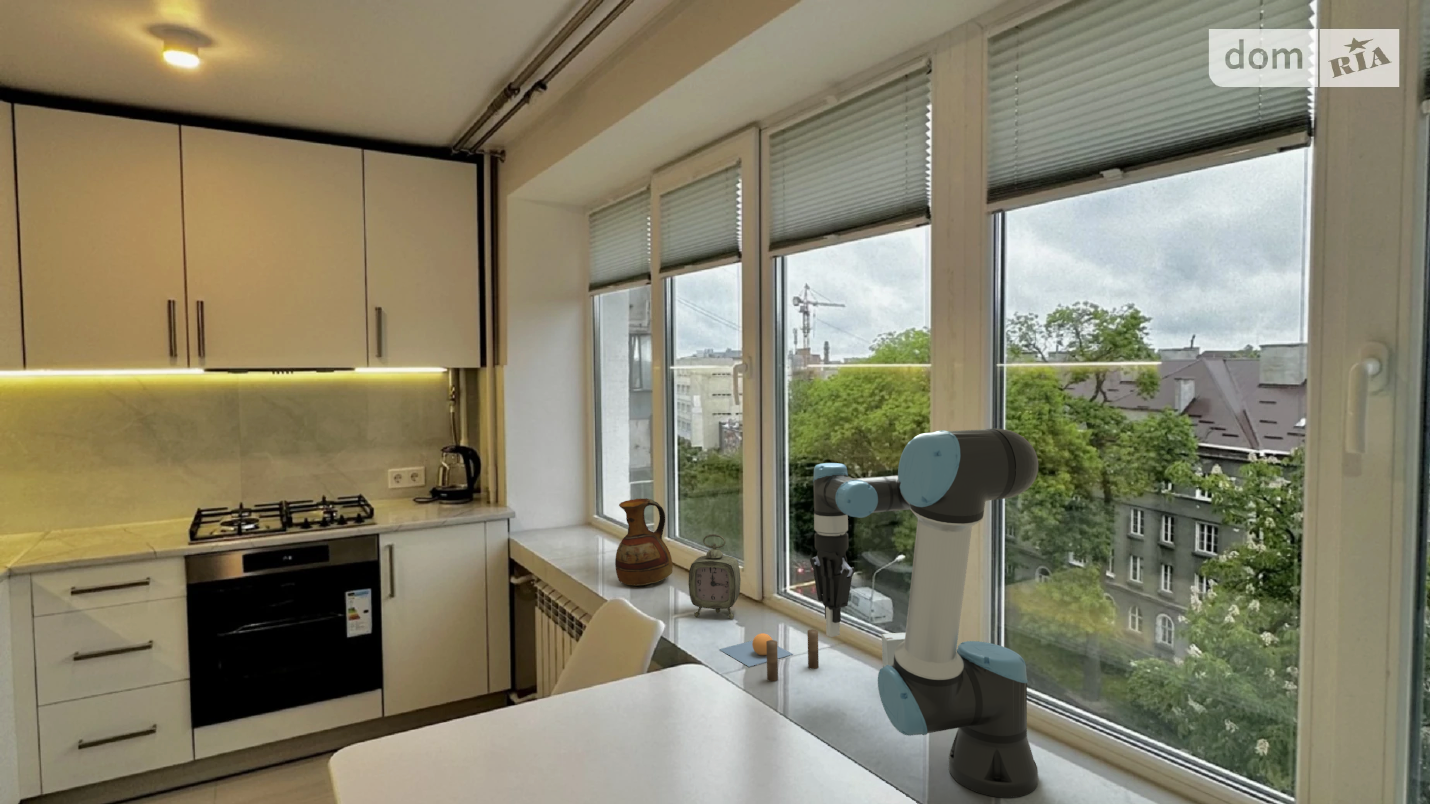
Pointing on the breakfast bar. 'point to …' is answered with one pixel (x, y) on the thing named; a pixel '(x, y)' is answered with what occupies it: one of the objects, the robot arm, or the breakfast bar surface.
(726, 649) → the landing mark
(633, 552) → the ceramic pitcher
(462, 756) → the breakfast bar surface
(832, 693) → the breakfast bar surface
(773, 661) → the left post
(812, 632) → the right post
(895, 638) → the skincare box
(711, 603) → the tabletop clock
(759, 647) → the ball
